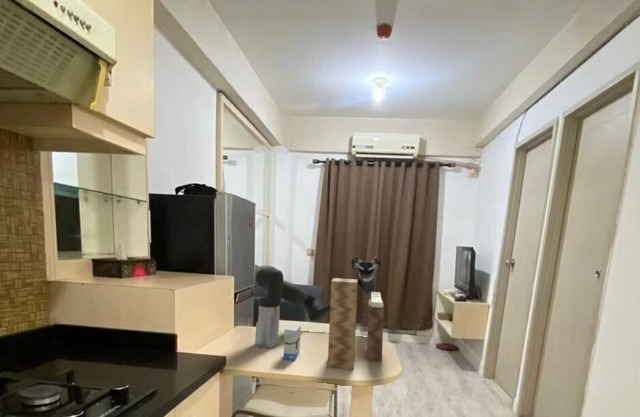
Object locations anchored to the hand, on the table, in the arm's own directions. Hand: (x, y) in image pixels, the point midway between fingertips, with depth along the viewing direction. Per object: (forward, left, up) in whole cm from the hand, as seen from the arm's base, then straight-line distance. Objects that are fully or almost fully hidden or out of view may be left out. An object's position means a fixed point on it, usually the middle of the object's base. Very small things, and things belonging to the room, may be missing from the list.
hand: (366, 258), depth 159 cm
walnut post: (+9, -11, -39) cm, 42 cm away
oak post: (+1, -26, -39) cm, 47 cm away
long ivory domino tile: (+8, -9, -17) cm, 21 cm away
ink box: (-19, -32, -40) cm, 54 cm away
